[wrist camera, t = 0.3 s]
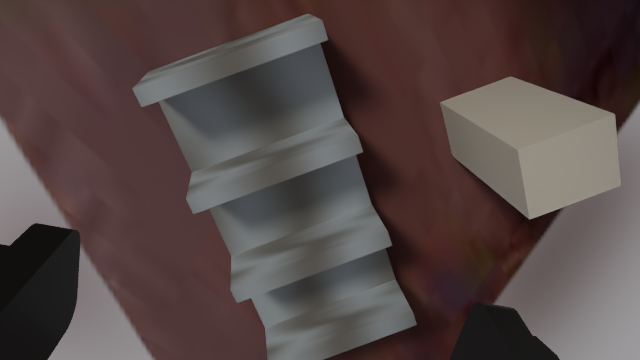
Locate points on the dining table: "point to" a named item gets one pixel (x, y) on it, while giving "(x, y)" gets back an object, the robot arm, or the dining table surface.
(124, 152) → the dining table surface
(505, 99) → the clay bar
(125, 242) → the dining table surface
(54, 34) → the dining table surface
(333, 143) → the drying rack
